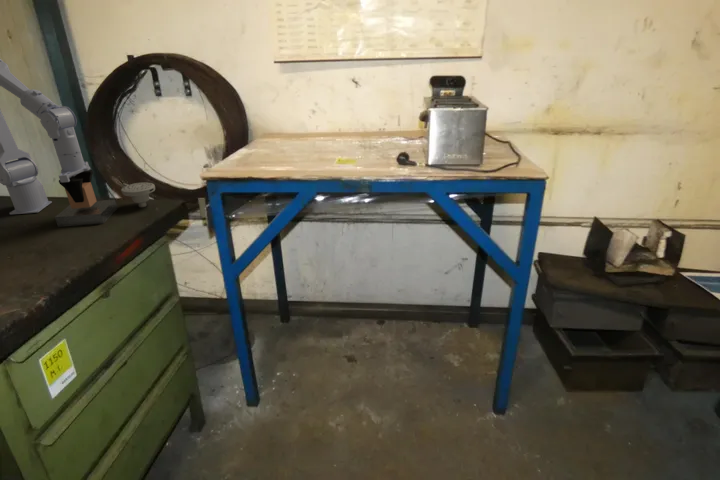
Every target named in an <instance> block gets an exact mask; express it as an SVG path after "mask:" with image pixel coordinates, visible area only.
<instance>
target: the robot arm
mask: <svg viewBox="0 0 720 480" xmlns="http://www.w3.org/2000/svg"><path fill="white" fill-rule="evenodd" d="M0 87H1V88H3V89H5V90H6V91H8V92H9V93H11V94H13V95H14V96H16V97H17V98H18V99H19V100H20V101H19V102H20V105H21V106H22V107H23V108H25V109H26V110H27V111H29V112H30V113H31V114H32V115H34V116H36V117H37V118H38V119H40V120H39V122H40V125H41V126H42V127H43V129H45V131H46V133H47V135H48V136H49V138H50V139H51V140H52V143H53V147H54V150H55V153H56V155H57V159H58V162H59V165H60V168H61V170H60V174H59V175H58V179H59V180H58V183H59V185H60V186H62V187H63V188H64V190H65V189H66V190H67V191H68V192H69V194H70V195H71V197H72V198H73V200H74V201H75V203H78V202H84V196H83V191H82V183H87V182H91V183H92V178H93V174H94V171H93V170H92V169H91V166H90V165H89V161H85V160H84V157H83V155H82V150H81V147H80V144H79V141H78V137H77V134H76V129H75V128H76V126H77V125H78V124H77V123H78V120H77V116H76V114H75V113H74V111H73V110H72V109H71V108H70V107H69V106H66V105H65V106H64V105H63V106H62V105H59V104H56V103H55V102H54V101H52V100H51V99H50V98H49V97H48V96H46V95H45V94H43V92H42V91H41V90H39V89H33V88H31V89H30V88H29V87H27V85H25V84H24V83H23V82H22V81H21V80H20V79H18V78H17V77H16V76H15V75H14V74H13V73H12V72H11V70H10V68H9V65H8V63H6V62H5V61H4V60H3V59H1V58H0ZM38 175H39V168H38V165H37V164H36V162H35V160H33V158H32V156H31V155H30V153H29V152H27V151H24V150H22V149H19V147H18V145H17V143H16V141H15V138H14V136H13V134H12V132H11V130H10V128H9V125H8V123H7V121H6V119H5V116H4V115H3V113H2V110H1V109H0V184H2V186H5V187H6V188H7V191H8V192H7V193H8V194H9V197H10V200H11V202H12V204H13V207H14V209H13V210H12V211H9V215H21V214H23V215H24V214H37V213H39V212H41V211H42V210H43V209H45V208H47V206H49V205H50V204H52V203H53V201H51V200H49V199H48V196H47V193H46V191H45V188H44V185H43V183H42V182H41V181H40V180H39V179H38V178H37V176H38Z"/></svg>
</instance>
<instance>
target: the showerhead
mask: <svg viewBox="0 0 720 480" xmlns="http://www.w3.org/2000/svg"><path fill="white" fill-rule="evenodd" d="M122 186H123V187H122V188H121V190H120V191H121V194H122V195H123V196H127V197H131V200H132V202H134V203H135V204H137V205H138V207H139V208H144V207H146V206H147V202H148V201H149V200H150V195H149V194H151V193H153V192H155V190H156V186H155V184H154V183H151V182H148V181H147V182H142V181H141V182H136V183H135V182H134V183H132V184H131V183H130V184H126V183H124V182H123V184H122Z"/></svg>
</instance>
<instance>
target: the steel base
mask: <svg viewBox="0 0 720 480" xmlns="http://www.w3.org/2000/svg"><path fill="white" fill-rule="evenodd" d="M96 201H97V202H95V203H94V204H93V205H92V206H91V207H86V208H74V209H72V208H71V205H70V204H69V205H68V206H67V207H65V208H64V209H62V211H61V212H59V213H58V214H57V215H55V216H54V219H55V222H56V224H57V227H58V228H60V227H61V228H62V227H74V226H75V227H77V226H87V225H99V224H100V225H101V224H105V223H106V222H107V221H108V219H109V218H110V217H111V216H113V214H114V213H115V211H117V210H118V205H117V202H116V199H105V200H96Z"/></svg>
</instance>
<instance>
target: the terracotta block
mask: <svg viewBox="0 0 720 480" xmlns="http://www.w3.org/2000/svg"><path fill="white" fill-rule="evenodd" d="M64 191H65V193H66V197H67V200H68V203H69V205H71V208H72V209H74V208H86V207H91V206H92V205H93V204H94V203H95V202H97V201H98V200H97V198H96V194H95V191H94V187H93V185H92V181H91V182H87V183H82V191H83V196H84V202H78V203H75V201H74V200H73V198H72V197H71V195H70V194H69V192H68V191H67V190H66V189H65V188H64Z"/></svg>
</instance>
